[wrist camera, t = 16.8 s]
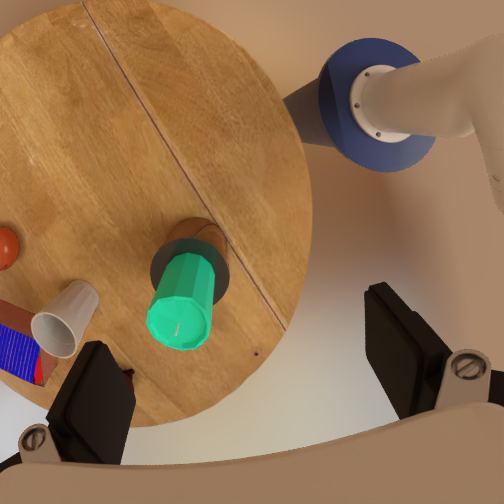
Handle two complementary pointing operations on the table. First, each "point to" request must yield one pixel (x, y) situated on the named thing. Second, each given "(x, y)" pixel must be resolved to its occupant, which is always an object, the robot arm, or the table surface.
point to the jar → (195, 251)
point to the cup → (65, 319)
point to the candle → (183, 303)
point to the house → (22, 347)
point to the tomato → (8, 248)
